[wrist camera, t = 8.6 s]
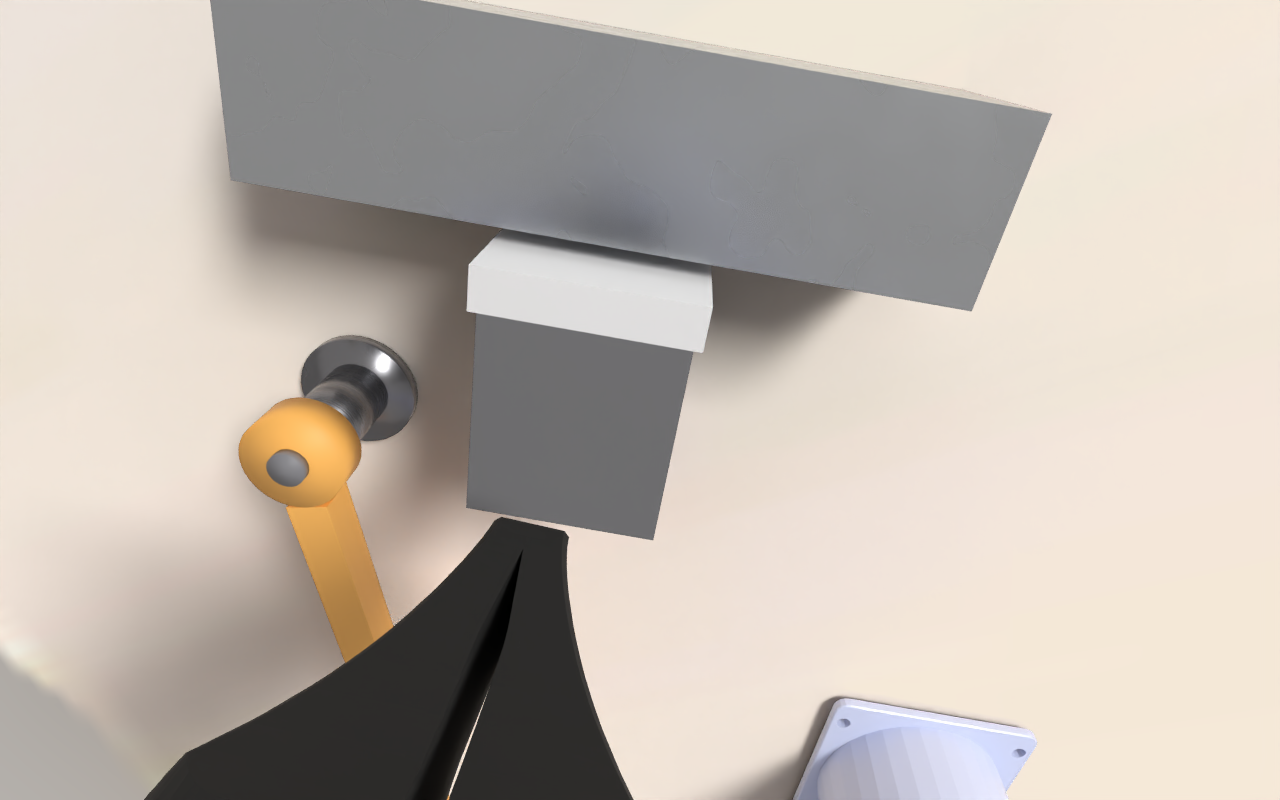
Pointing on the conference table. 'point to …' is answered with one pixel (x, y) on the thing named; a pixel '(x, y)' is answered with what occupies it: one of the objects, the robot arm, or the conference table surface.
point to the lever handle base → (362, 384)
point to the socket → (625, 140)
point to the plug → (579, 378)
